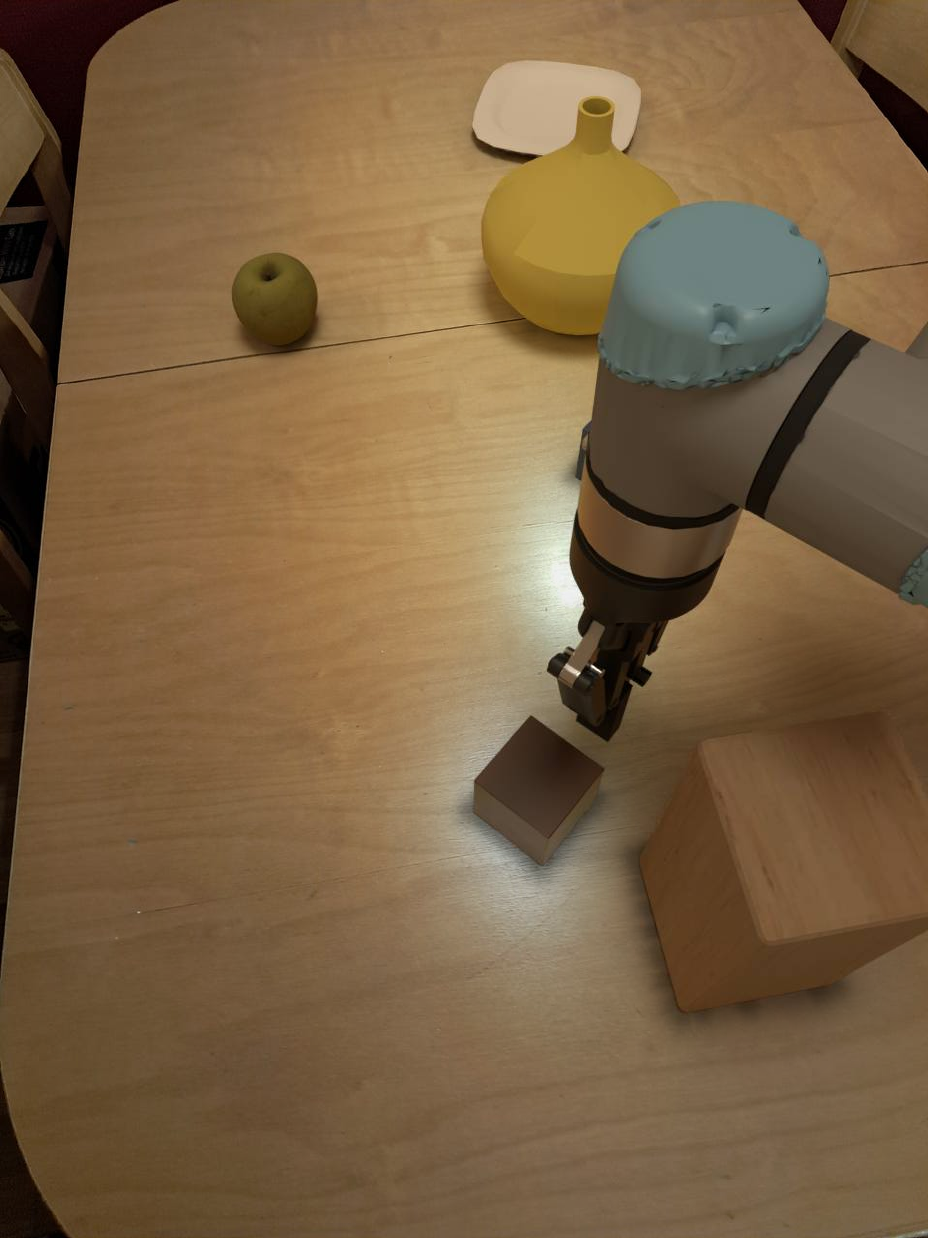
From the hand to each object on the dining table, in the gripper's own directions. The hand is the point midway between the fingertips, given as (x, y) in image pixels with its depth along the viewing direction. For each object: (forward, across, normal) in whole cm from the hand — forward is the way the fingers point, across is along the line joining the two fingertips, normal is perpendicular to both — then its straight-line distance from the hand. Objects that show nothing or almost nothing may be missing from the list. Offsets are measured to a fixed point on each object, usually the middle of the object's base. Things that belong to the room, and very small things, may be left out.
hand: (597, 724), depth 66 cm
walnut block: (+2, +7, 0) cm, 7 cm away
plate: (+2, -60, -46) cm, 76 cm away
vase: (+2, -37, -28) cm, 46 cm away
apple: (+2, -16, -47) cm, 50 cm away
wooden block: (+3, +5, +14) cm, 15 cm away
